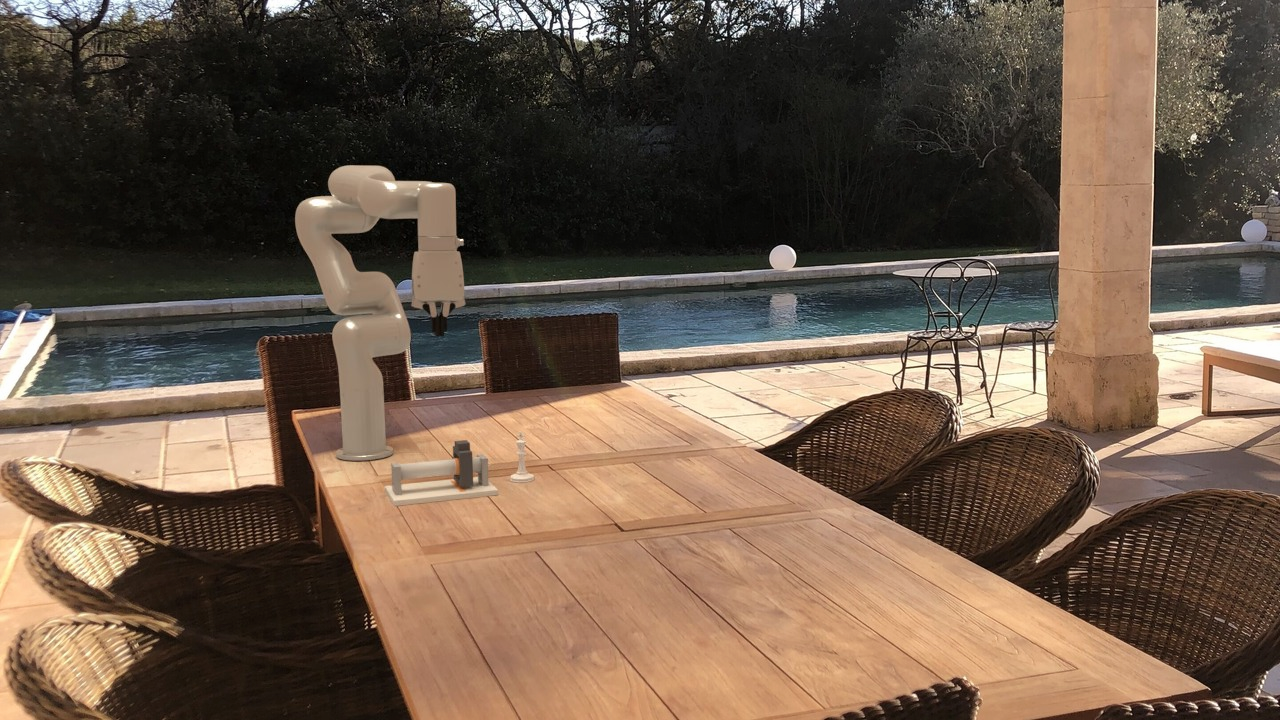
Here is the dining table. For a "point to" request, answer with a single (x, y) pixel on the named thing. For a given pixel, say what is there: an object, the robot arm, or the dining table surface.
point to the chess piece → (521, 464)
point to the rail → (437, 482)
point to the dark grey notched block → (463, 463)
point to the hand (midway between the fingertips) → (439, 335)
